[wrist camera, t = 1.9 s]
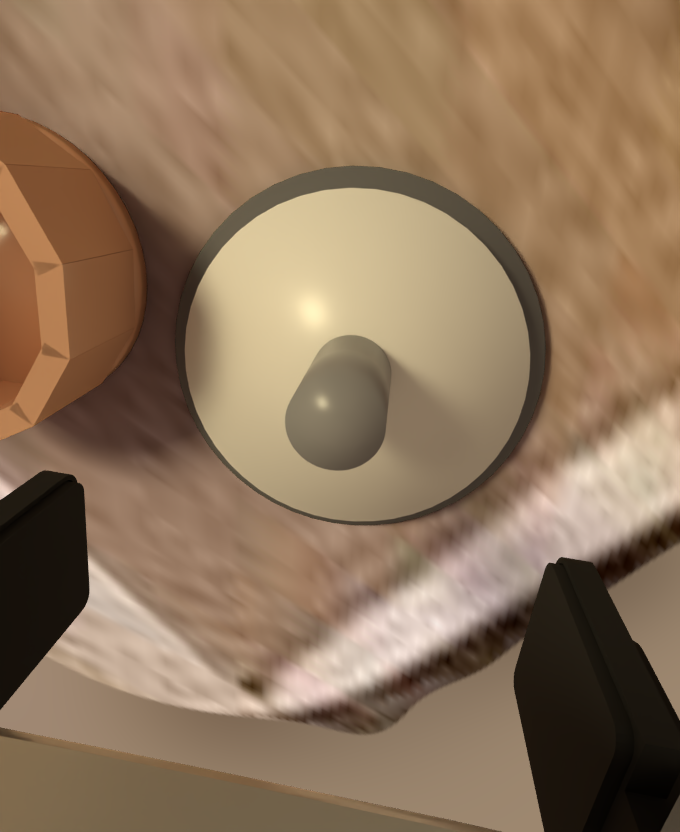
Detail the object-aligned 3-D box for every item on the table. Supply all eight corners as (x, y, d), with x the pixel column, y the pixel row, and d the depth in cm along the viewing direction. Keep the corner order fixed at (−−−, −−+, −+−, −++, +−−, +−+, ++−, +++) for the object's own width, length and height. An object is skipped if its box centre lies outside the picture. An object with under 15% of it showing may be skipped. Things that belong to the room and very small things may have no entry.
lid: (194, 166, 20) (113, 157, 14) (567, 212, 19) (628, 221, 14) (190, 485, 25) (129, 567, 19) (485, 533, 24) (506, 632, 19)
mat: (179, 143, 20) (175, 142, 19) (590, 193, 19) (594, 193, 19) (178, 492, 25) (175, 496, 25) (496, 544, 24) (497, 549, 24)
